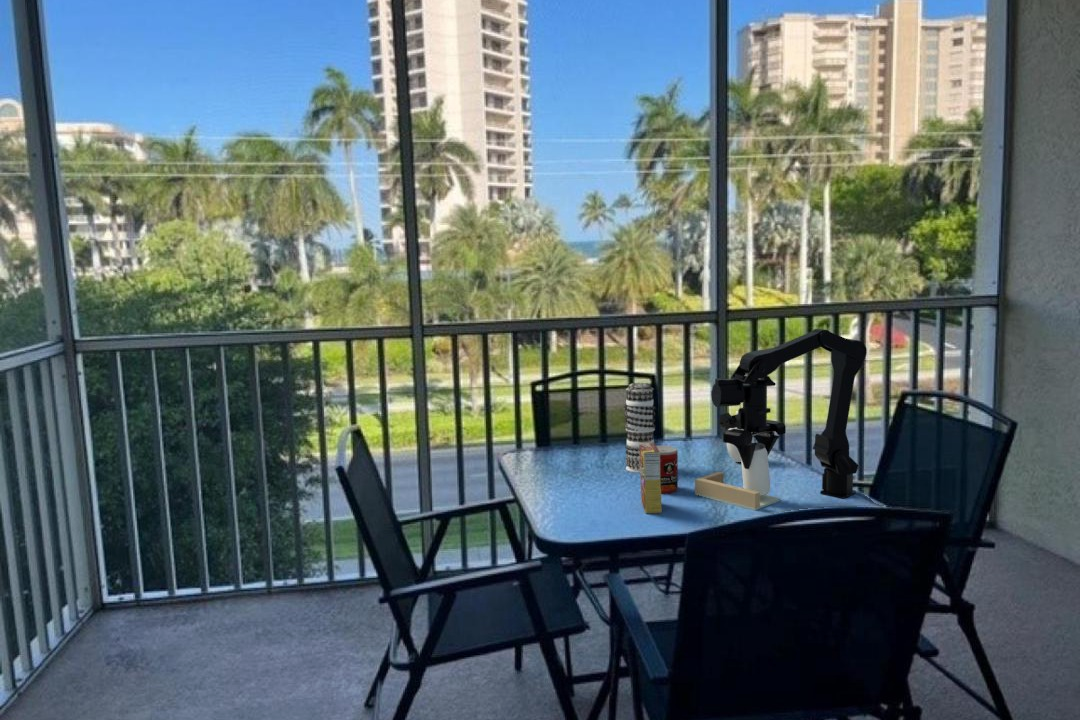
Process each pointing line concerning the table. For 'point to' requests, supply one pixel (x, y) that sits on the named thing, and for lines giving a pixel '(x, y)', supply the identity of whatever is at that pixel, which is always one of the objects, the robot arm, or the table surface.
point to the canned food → (668, 468)
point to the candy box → (650, 478)
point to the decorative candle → (638, 422)
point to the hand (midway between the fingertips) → (754, 466)
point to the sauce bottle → (733, 449)
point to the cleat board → (731, 493)
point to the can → (757, 471)
